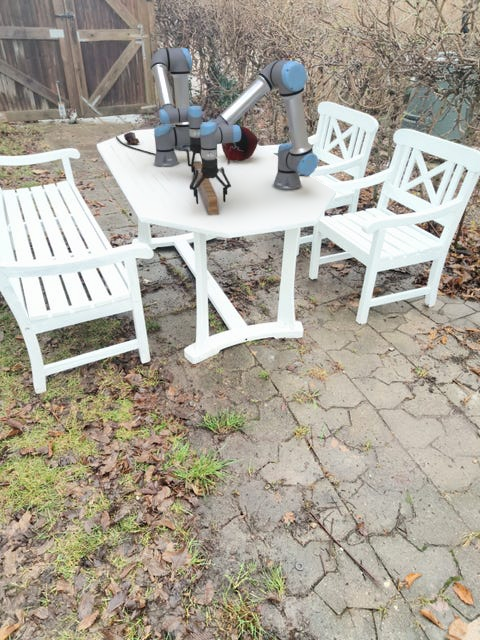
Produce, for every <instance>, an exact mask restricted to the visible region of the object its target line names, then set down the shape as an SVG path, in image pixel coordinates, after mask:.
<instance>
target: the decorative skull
mask: <svg viewBox="0 0 480 640" xmlns="http://www.w3.org/2000/svg"><path fill="white" fill-rule="evenodd" d="M239 127H240V129H241V139H240V141H238V142H234V143H224V144H221V148H222V152H223V154H224V156H225V159H226V160H227V164H228V165H229V164H230V161H232V162H244V161H246V160H248V159H250V158H251V157H252V156H253V155H254V153H255V152H256V149H257V146H258V143H259V142H258V141H259V140H258V137H257V135H256V134H255V133H254V132H253V131H252V130H250V129H249V128H248V127H244V126H239Z"/></svg>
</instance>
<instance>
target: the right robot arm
mask: <svg viewBox="0 0 480 640" xmlns="http://www.w3.org/2000/svg"><path fill="white" fill-rule="evenodd" d="M307 80H308V74H307V71H306V68H305V66H304V65H303V64H302V63H300V62H298V61H295V60H287V59H276V60H274V61H272V62H270V63H269V64H268V65H266V66H265V67H263V69H262V70H261V71H260V72H259V73H258V74H256V75H255V80H254V81H252V83H251V84H250V85H248V87H246V88H245V89H244V91H242V92H241V94H239V95H238V96H237V97H236V98H235V99H234V100H233V101H232V102H231V103H230V104H229V105H228V106H227V107H226V108H225V109H224V110H223V111H222V112H221V113H220V114H219V115H217V117H216V118H213V119H209V120H208V121H205V122H202V124H201V126H200V137H201V157H202V160H201V163H202V169H201V170H200V169H195V175H194V176H193V177H192V180H191V181H190V184H189V187H188V188H189V190H191V191H192V192H193V197H194V198H195V204H196V205H198V204H199V186H200V184H201V183H202V182H203V180H204V179H205V178H207V179H209V180H210V179H216V180H217V181H218V182H219V183H220V184H221V186H222V200H223V203H226V196H228V189H229V188H231V187H232V184H231V183H230V181H229V179H228V177H227V174H226V172H225V168H224V167H223V166H222V167H219V168H218V145H222V144H224V143H234V142H238V141H240V139H241V129H240V127H241V126H240V125H238V124H236V122H237V121H239V119H240V118H241V117H243V115H244V114H246V113H247V112H248V110H250V109H251V108H252V107H253V106H254V105H255V104H256V103H257V102H258V101H259V100H260V99H261V98H262V97H263V96H264V95H265V94H266V93H268V94H269V93H270V92H271V91H272V90H274V89H276V88H278V92H279V97H280V98H282V99H283V101H284V103H283V104H284V108H285V113H286V121H287V126H288V132H289V138H290V142H285V143H281V144H280V145H278V149H277V172H276V176H275V177H274V178H275V179H274V181H273V187H274V188H276V189H278V190H282V191H283V190H284V191H294V190H298V189H300V188H301V187H302V182H301V179H300V177H308V176H309V177H310V176H311V175H312V174H313V173H314V172H315V171H316V169H317V168H318V165H319V158H318V156H317V155H316V154H315V153H314V152H313V151H314V150H313V145H312V144H311V143H310V142H309V136H308V130H307V122H306V116H305V110H304V102H303V93H304V91H305V86H306V83H307ZM201 157H200V158H201ZM200 172H201V173H202V174H203V175H202V176H201V178H200V179H199V180H198V182H196V179H197V177H198V174H200ZM219 173H220V174H221V175H222V177H223V178H224V180H225V182H226V183H225V182H224V181H223V179H221V177H220V176H219V175H218V174H219Z"/></svg>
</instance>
